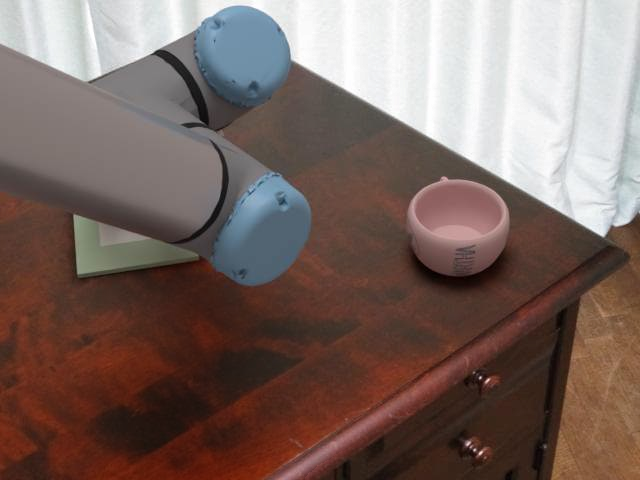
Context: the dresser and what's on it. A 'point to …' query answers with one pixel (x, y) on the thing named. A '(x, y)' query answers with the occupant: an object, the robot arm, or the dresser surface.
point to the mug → (457, 226)
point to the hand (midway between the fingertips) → (109, 164)
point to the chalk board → (120, 250)
